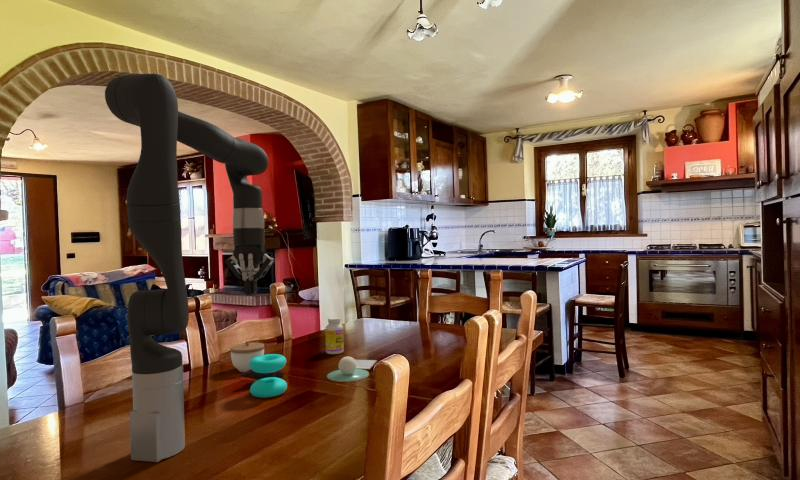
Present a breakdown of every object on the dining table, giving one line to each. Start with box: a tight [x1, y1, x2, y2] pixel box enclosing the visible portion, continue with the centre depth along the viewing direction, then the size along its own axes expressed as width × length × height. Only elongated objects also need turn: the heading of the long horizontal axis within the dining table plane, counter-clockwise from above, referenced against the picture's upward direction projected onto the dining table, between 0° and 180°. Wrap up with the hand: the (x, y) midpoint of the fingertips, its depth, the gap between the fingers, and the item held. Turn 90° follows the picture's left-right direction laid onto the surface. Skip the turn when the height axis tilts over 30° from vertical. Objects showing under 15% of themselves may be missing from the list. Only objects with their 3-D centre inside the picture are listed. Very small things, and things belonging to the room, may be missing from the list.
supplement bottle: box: [324, 316, 345, 355], centre depth 173 cm, size 7×7×13 cm
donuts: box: [249, 353, 288, 399], centre depth 129 cm, size 10×10×10 cm
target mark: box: [326, 369, 370, 383], centre depth 144 cm, size 13×13×1 cm
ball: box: [338, 356, 357, 375], centre depth 145 cm, size 6×6×6 cm
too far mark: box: [354, 359, 378, 370], centre depth 156 cm, size 10×10×1 cm
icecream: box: [240, 360, 288, 381], centre depth 139 cm, size 7×7×15 cm
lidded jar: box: [230, 340, 265, 373], centre depth 153 cm, size 11×11×9 cm
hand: (250, 295), depth 117 cm, fingers closed
